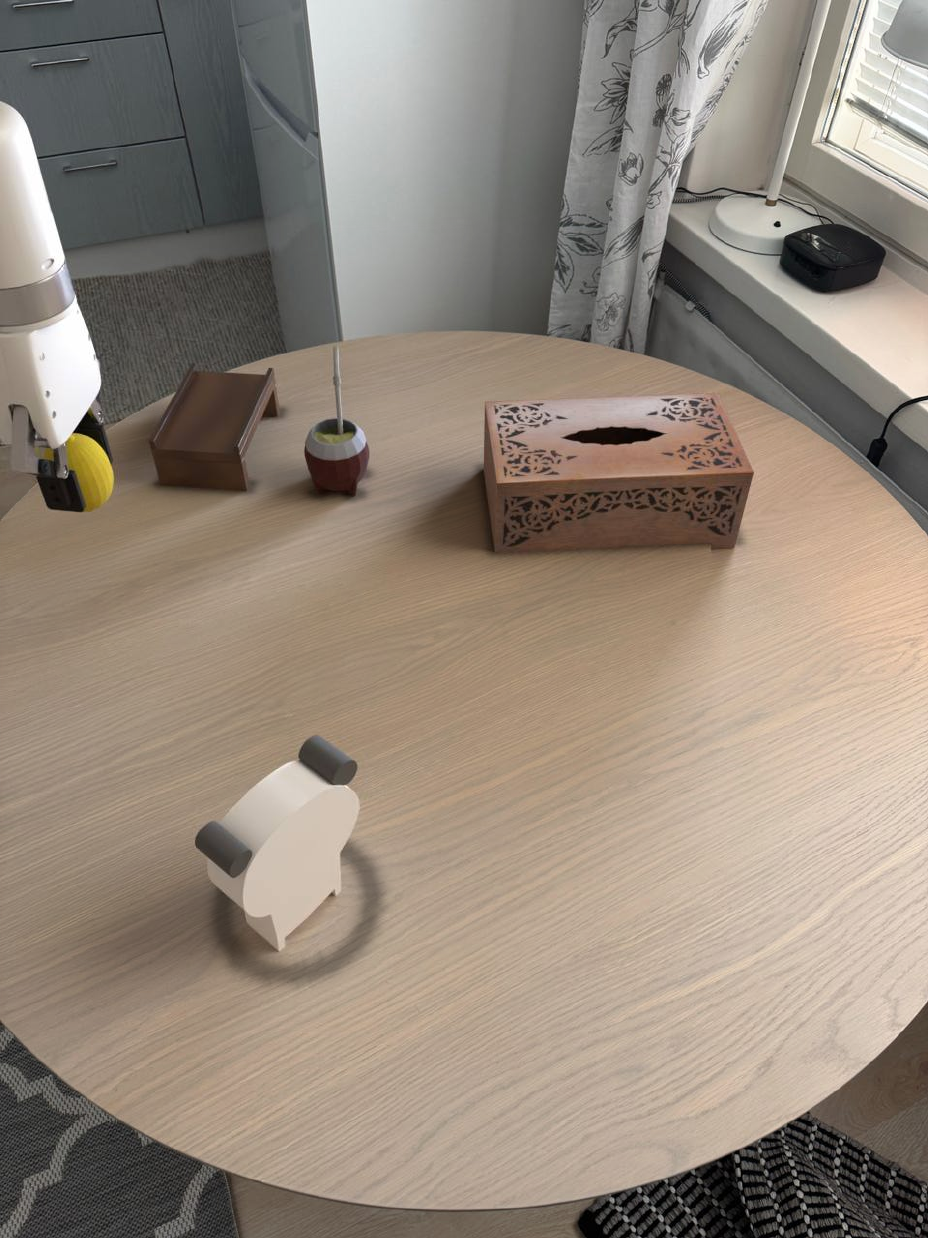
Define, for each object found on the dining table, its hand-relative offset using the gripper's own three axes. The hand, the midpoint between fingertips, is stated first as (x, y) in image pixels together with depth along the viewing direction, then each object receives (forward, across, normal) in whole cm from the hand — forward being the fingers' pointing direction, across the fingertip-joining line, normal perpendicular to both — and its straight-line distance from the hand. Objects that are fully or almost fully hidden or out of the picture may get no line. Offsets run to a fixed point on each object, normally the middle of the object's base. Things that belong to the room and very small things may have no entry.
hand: (81, 483), depth 86 cm
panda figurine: (+17, +28, +24) cm, 41 cm away
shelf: (+18, -29, +1) cm, 34 cm away
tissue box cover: (+17, -24, +46) cm, 55 cm away
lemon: (+3, 0, 0) cm, 3 cm away
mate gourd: (+18, -24, +16) cm, 34 cm away
